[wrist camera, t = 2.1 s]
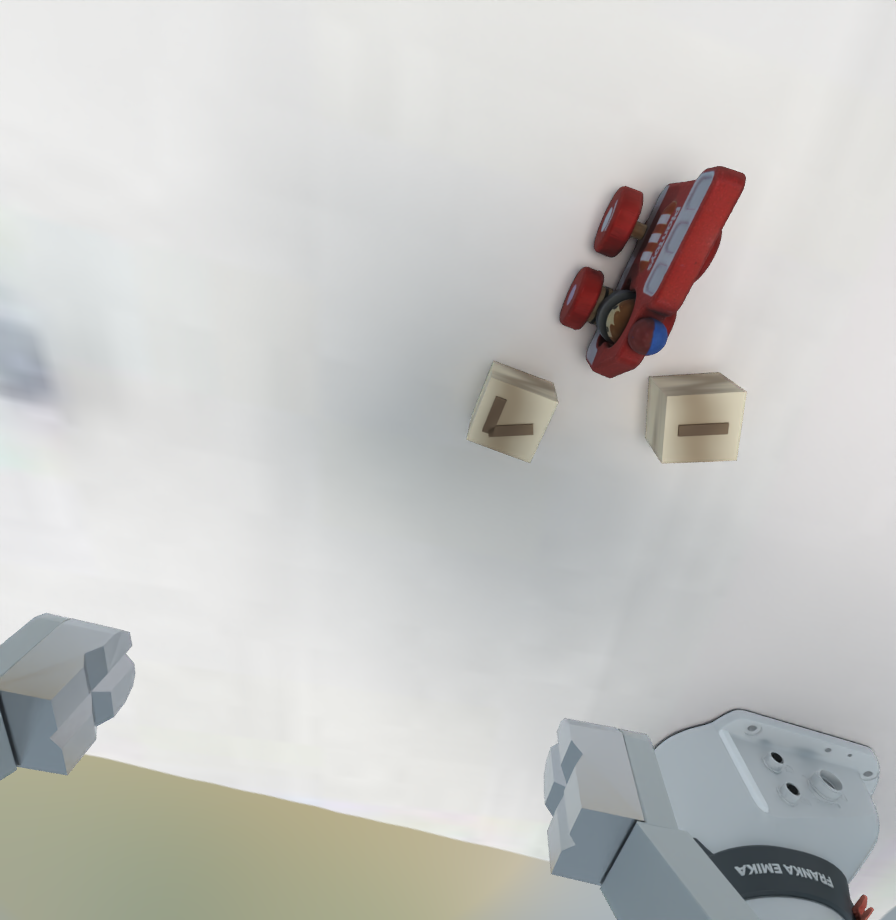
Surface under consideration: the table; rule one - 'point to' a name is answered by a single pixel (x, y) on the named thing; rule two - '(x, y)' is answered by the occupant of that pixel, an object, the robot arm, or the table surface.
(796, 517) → the table surface
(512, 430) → the maple cube seven
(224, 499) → the table surface
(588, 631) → the table surface
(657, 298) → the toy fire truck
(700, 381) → the maple cube one
